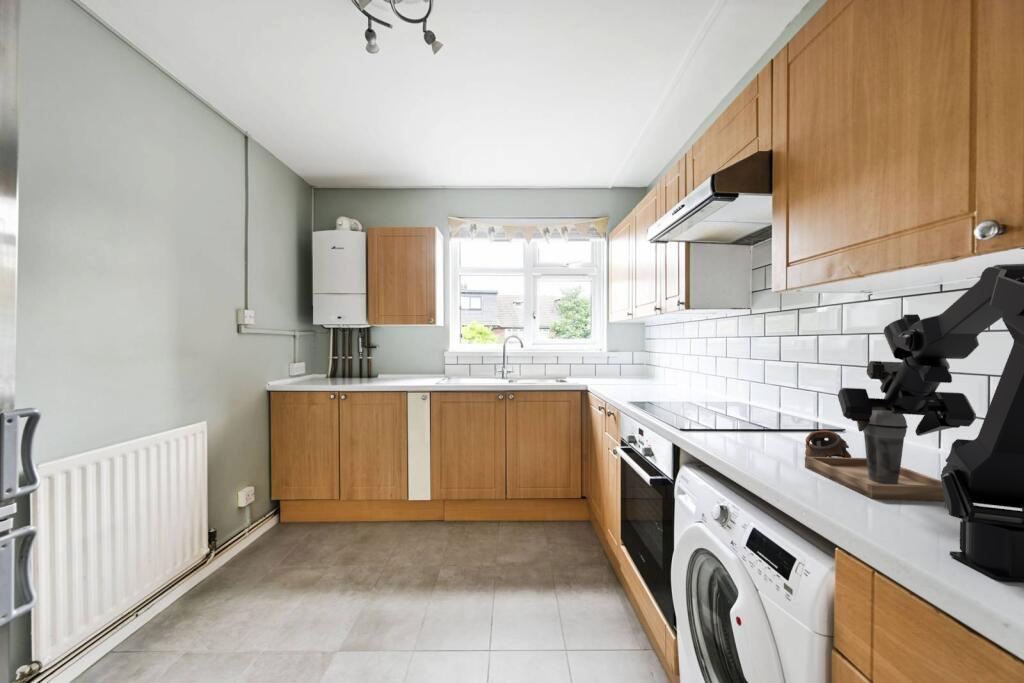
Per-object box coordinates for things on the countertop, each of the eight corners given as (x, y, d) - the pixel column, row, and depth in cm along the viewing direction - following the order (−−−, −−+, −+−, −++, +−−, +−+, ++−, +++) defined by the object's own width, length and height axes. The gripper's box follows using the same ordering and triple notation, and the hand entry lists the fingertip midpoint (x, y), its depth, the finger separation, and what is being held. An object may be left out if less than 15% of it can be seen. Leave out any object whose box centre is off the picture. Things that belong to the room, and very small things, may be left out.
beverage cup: (851, 474, 92) (852, 380, 92) (889, 476, 91) (890, 381, 91) (875, 485, 85) (876, 384, 85) (917, 487, 84) (918, 385, 84)
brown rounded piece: (864, 468, 103) (855, 439, 101) (825, 483, 104) (815, 455, 102) (830, 443, 114) (821, 417, 113) (795, 457, 116) (785, 432, 114)
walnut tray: (961, 501, 80) (961, 488, 80) (871, 498, 81) (871, 485, 81) (876, 469, 100) (876, 458, 100) (804, 467, 101) (804, 456, 101)
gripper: (966, 348, 78) (932, 402, 88) (841, 346, 85) (823, 397, 95) (996, 397, 70) (955, 449, 81) (856, 390, 77) (834, 440, 87)
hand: (887, 431), depth 86 cm, fingers open, 9 cm apart
